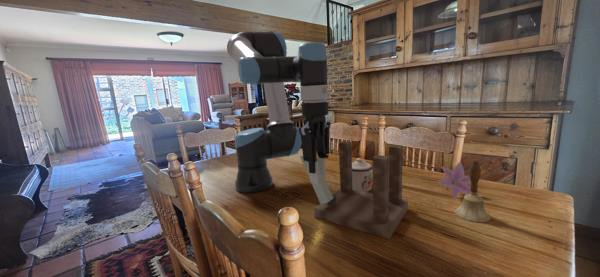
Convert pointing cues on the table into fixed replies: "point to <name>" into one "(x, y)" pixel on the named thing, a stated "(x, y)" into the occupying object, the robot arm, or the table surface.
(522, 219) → the table surface
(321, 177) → the folding leg
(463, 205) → the hand bell
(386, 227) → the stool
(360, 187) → the teacup with lid
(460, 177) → the lily
